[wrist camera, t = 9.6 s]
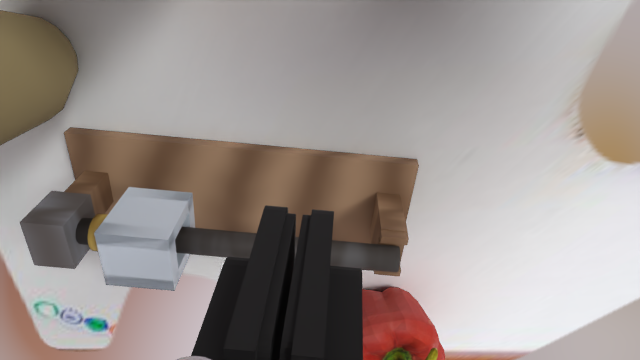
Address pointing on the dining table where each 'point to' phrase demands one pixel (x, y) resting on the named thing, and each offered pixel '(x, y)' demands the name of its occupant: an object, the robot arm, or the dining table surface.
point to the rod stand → (227, 196)
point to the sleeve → (145, 238)
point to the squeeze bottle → (32, 72)
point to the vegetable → (397, 327)
